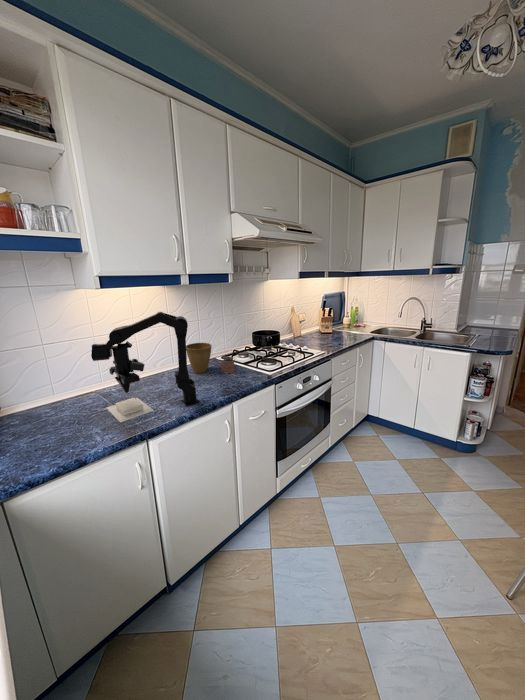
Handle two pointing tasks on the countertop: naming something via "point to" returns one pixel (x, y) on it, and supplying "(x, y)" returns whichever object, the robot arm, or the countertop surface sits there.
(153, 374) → the countertop surface
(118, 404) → the tile
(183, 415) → the countertop surface
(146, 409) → the beige board
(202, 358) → the plant pot
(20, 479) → the countertop surface
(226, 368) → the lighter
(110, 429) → the countertop surface
